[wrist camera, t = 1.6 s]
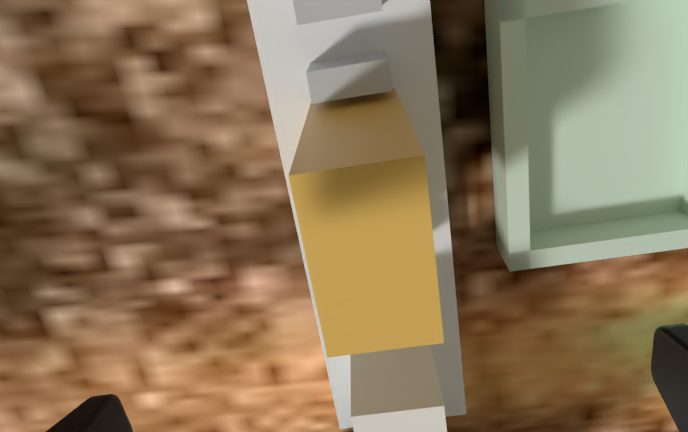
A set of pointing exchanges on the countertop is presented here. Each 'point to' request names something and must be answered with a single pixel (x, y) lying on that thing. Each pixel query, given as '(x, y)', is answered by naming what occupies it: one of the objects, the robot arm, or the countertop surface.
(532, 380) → the countertop surface
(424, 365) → the block
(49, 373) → the countertop surface
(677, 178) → the tray
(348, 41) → the block
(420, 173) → the block
